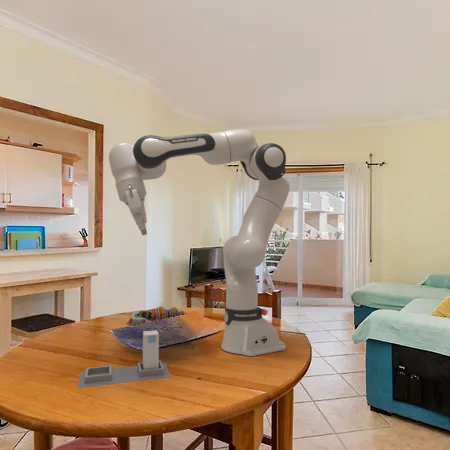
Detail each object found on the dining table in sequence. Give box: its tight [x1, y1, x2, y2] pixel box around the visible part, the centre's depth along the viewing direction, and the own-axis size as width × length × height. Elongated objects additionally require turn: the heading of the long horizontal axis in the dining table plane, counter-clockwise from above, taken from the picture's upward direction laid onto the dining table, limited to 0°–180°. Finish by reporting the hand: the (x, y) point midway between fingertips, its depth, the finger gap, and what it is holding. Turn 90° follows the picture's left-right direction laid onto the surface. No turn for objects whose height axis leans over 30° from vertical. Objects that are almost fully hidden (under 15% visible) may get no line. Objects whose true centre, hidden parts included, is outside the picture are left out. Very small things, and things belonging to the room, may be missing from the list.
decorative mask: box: [126, 306, 188, 326], centre depth 161 cm, size 24×8×30 cm
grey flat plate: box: [77, 360, 172, 389], centre depth 102 cm, size 24×11×2 cm, turn 108°
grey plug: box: [142, 329, 160, 370], centre depth 104 cm, size 4×5×11 cm
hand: (143, 232), depth 116 cm, fingers open, 8 cm apart
